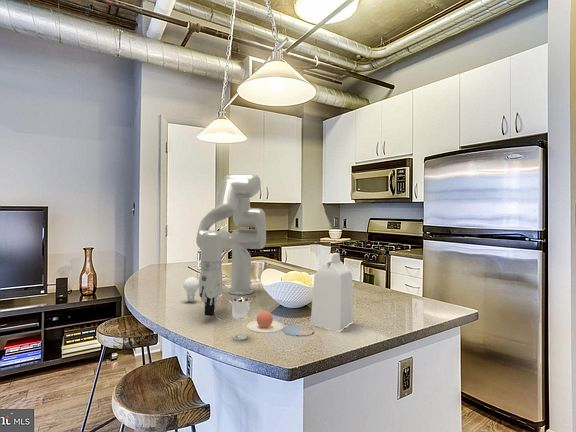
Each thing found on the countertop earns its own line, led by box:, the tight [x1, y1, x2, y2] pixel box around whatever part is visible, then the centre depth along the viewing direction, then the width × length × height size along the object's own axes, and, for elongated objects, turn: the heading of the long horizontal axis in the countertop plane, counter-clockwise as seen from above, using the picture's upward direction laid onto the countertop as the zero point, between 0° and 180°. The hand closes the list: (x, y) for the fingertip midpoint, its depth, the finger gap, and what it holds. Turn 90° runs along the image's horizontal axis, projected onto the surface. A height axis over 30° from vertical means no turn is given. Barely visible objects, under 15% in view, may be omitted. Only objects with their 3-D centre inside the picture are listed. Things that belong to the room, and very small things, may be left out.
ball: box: [256, 310, 274, 328], centre depth 119 cm, size 6×6×6 cm
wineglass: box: [231, 297, 251, 341], centre depth 109 cm, size 6×6×12 cm
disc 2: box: [281, 324, 302, 337], centre depth 117 cm, size 11×11×1 cm
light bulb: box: [183, 276, 200, 303], centre depth 149 cm, size 7×7×11 cm
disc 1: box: [246, 320, 285, 334], centre depth 121 cm, size 13×13×1 cm
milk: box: [310, 252, 354, 330], centre depth 125 cm, size 12×12×26 cm
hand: (209, 315), depth 127 cm, fingers closed
